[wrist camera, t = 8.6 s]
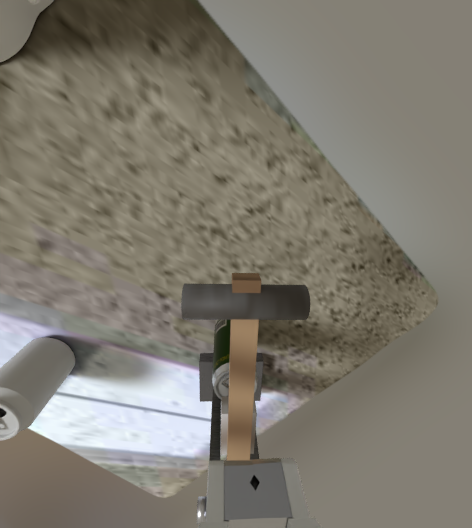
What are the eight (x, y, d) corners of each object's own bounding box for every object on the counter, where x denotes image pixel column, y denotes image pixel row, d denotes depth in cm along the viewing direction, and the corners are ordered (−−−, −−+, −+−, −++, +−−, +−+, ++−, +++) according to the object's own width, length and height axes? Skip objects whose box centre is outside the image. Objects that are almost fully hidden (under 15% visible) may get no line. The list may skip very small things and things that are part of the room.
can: (76, 335, 40) (19, 400, 29) (79, 374, 43) (28, 447, 32) (25, 331, 40) (-54, 396, 28) (31, 371, 42) (-39, 444, 31)
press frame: (200, 353, 42) (182, 497, 24) (261, 353, 43) (291, 493, 24) (201, 391, 45) (185, 547, 27) (258, 391, 46) (282, 543, 27)
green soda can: (208, 330, 41) (202, 392, 30) (228, 305, 40) (230, 360, 28) (235, 346, 42) (240, 411, 31) (256, 323, 41) (268, 381, 30)
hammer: (188, 264, 21) (180, 282, 17) (297, 265, 22) (313, 284, 18) (193, 486, 29) (189, 533, 25) (273, 484, 30) (281, 529, 26)
